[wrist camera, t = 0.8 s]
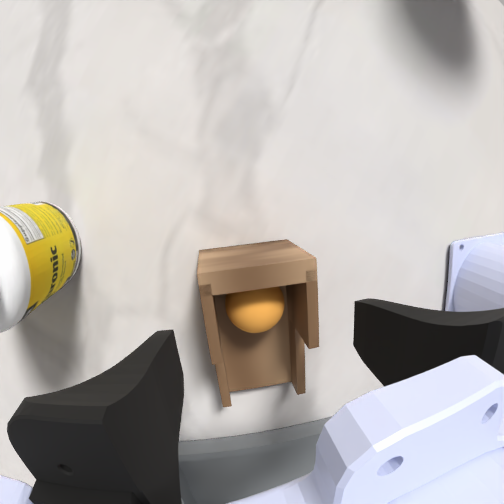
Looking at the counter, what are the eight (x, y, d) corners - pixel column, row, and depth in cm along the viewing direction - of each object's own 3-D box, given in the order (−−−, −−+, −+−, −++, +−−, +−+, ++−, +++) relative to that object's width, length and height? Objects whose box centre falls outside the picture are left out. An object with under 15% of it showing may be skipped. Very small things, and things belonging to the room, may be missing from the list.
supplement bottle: (59, 305, 17) (-27, 388, 7) (3, 252, 15) (-100, 298, 6) (100, 237, 16) (4, 288, 7) (38, 183, 15) (-77, 187, 6)
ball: (275, 264, 17) (289, 279, 14) (279, 314, 18) (292, 337, 15) (220, 271, 17) (223, 288, 14) (227, 322, 17) (231, 347, 14)
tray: (381, 401, 22) (401, 426, 18) (362, 488, 25) (374, 509, 21) (162, 442, 20) (158, 475, 16) (198, 520, 23) (200, 545, 19)
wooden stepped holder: (287, 239, 18) (316, 257, 13) (294, 372, 20) (318, 418, 15) (199, 250, 17) (196, 273, 13) (220, 384, 19) (226, 435, 14)
